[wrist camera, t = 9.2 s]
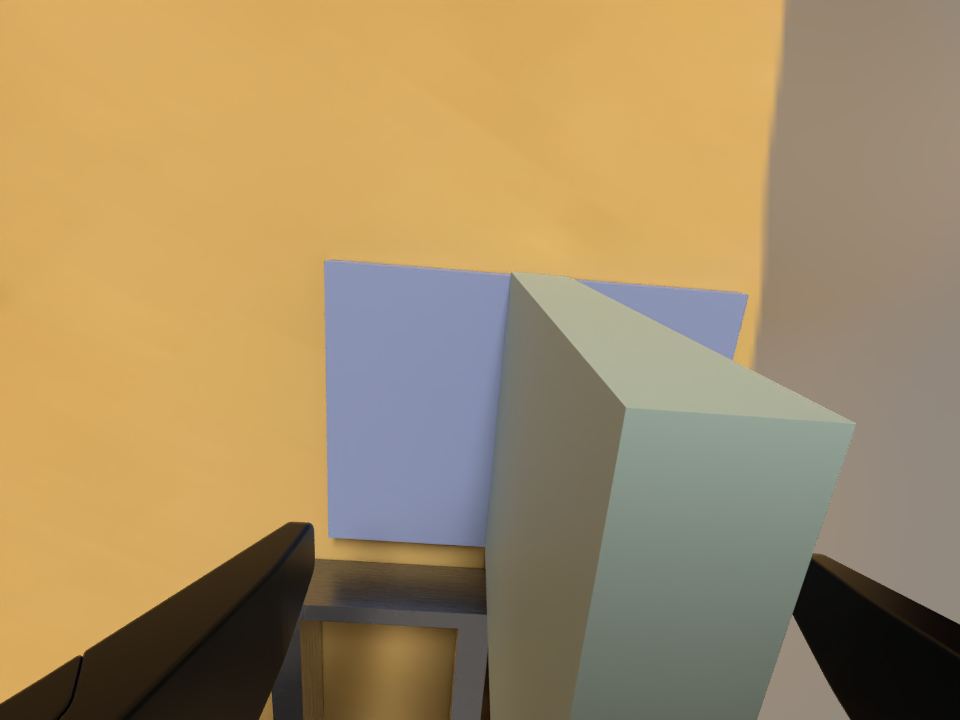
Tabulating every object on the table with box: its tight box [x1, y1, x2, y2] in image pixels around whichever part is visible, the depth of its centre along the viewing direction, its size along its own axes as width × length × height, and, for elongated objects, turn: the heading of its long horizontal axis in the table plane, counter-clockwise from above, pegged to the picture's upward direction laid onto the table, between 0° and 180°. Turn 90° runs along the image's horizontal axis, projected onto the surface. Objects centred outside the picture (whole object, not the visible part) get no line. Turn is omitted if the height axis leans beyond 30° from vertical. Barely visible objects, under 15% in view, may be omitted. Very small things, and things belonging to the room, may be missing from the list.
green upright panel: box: [485, 272, 856, 720], centre depth 9 cm, size 9×2×10 cm, turn 175°
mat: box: [324, 260, 748, 547], centre depth 14 cm, size 9×12×1 cm
